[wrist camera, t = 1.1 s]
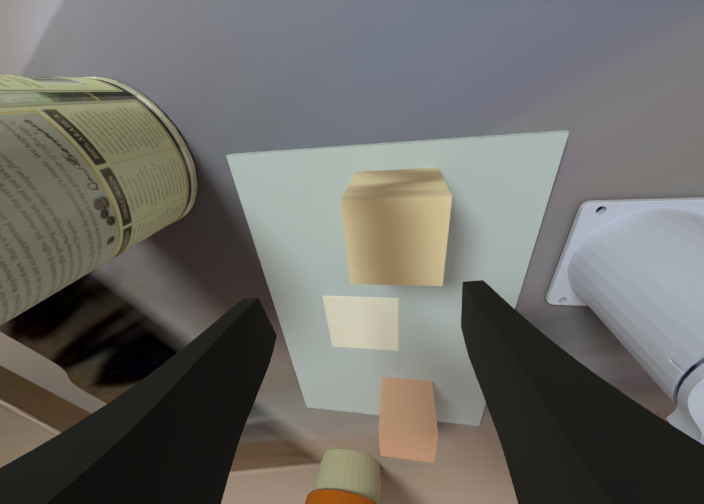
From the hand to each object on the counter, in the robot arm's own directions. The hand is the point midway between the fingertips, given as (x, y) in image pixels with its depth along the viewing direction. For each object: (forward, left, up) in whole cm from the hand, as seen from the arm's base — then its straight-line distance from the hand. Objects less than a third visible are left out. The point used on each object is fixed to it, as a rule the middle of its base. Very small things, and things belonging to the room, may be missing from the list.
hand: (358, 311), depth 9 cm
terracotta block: (-2, +21, -10) cm, 23 cm away
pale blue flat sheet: (0, +11, -10) cm, 15 cm away
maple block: (-1, 0, -10) cm, 10 cm away
